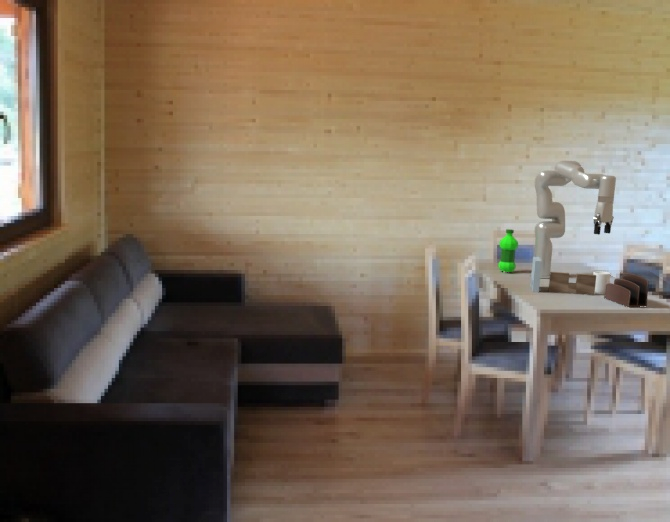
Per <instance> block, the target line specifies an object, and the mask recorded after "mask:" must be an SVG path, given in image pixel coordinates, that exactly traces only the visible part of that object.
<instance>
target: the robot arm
mask: <svg viewBox="0 0 670 522" xmlns="http://www.w3.org/2000/svg"><path fill="white" fill-rule="evenodd" d="M616 181H617V178H616V177H615V176H614V175H608V174H607V175H605V174H603V173H602V174H600V173H587V172H586V173H585V169H584V167H582V165H581V163H580V162H578V161H576V160H560V161H558V162H557V163H556V164H555V166H554V170H542V171H540V172H538V173H537V174H536V176H535V179H534V188H535V193H536V215H537V217H538V218H539V219H542V220H544V221H540V222H537V224H536V225H535V226H534V237H535V239H534V242H535V243H534V254H533V257H539V258H540V260H541V261H542V262H541V273H540V279H550V272H551V267H552V265H551V264H552V256H553V243H552V241H551V239H559V238H562V237H564V235H565V232H566V212H565V206H564V205H563V204H562V203H561V202H559V201H558V202H557V201H553V194H552V191H551V188H549V187H562V186H563V187H564V186H565V185H567V184H569V183H571V182H572V184H574V185H575V186H577V187H580V188H582V189H589V190H592V189H593V190H598V194H597V202H596V205H595V210H594V215H593V218H592V219H593V227H594V228H593V234H594V235H598V236H600V235H601V229H602V227H601V225H602V224H604V228H603V229H604V230H603V233H604V234H611V229H612V226H613V225H612V224H613V221H614V215H613V212H614V210H613V209H614V202H615V201H614V199H615V191H616V183H617V182H616ZM545 220H546V221H545ZM547 220H548V221H547ZM531 274H532V272H530V273H529V277H531Z"/></svg>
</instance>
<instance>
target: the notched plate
mask: <svg viewBox="0 0 670 522" xmlns="http://www.w3.org/2000/svg"><path fill="white" fill-rule="evenodd" d="M541 262H542V261H541V260H540V258H539V257H534V256H533V257H532V265H531V273H532V274H531V276H530V277H531V278H530V286H531V287H530V289H531V292H532V291H533V292H532V293H539V292H540V283H541V281H540V280H541V278H540V273H541Z"/></svg>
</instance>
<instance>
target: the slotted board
mask: <svg viewBox="0 0 670 522" xmlns="http://www.w3.org/2000/svg"><path fill="white" fill-rule="evenodd" d="M595 284H596V275H593V274H592V273H591V274H590V273H589V274H588V273H576V278H575V282H570V273H569V272H562V271H559V272H558V271H550V278H549V283H548V292H549V293H558V292H562V294H571V293H573V294H574V295H584V294H587V295H586V296H595V295H596V294H595V293H596V292H595Z"/></svg>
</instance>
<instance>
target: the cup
mask: <svg viewBox="0 0 670 522" xmlns="http://www.w3.org/2000/svg"><path fill="white" fill-rule="evenodd" d="M592 275H596V284H595V293H597V294H605V288H606V284H607V283H611V273H610V272H608V271H602V270H601V271H600V270H599V271H598V270H597V271H595V270H594V271H593V273H592Z"/></svg>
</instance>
